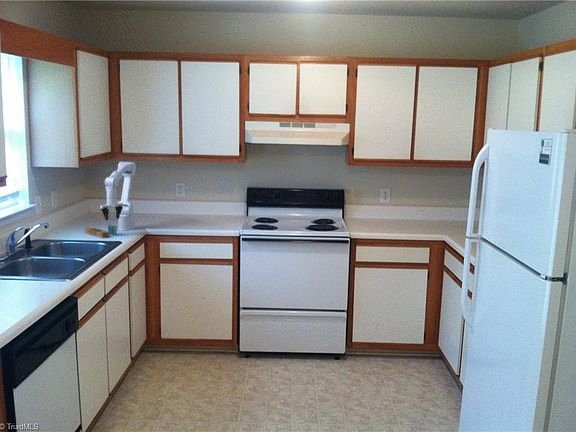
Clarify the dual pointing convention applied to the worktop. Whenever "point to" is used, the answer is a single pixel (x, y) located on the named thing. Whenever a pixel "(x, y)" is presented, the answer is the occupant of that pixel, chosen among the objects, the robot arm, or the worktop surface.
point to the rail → (97, 232)
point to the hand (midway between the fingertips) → (112, 219)
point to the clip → (112, 229)
